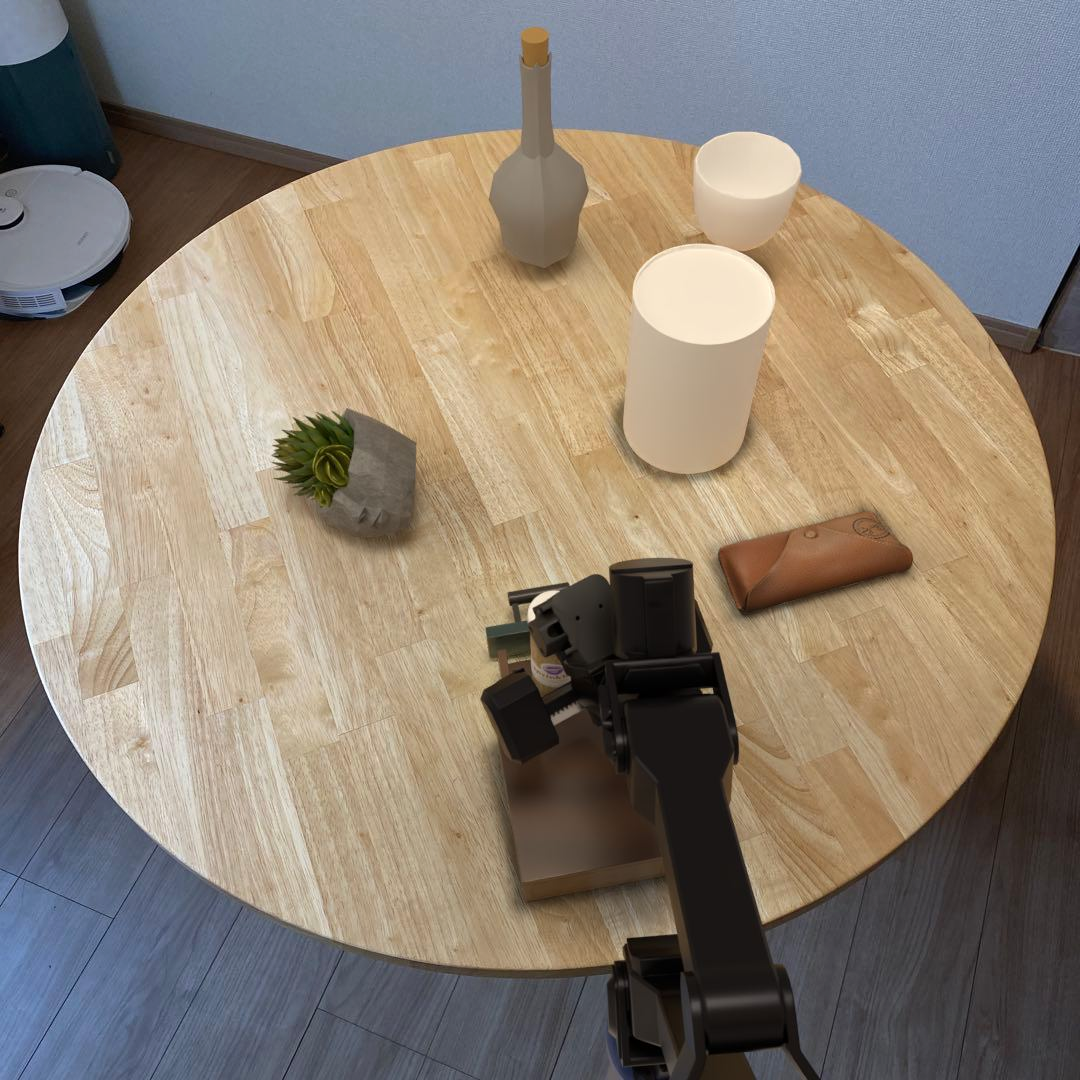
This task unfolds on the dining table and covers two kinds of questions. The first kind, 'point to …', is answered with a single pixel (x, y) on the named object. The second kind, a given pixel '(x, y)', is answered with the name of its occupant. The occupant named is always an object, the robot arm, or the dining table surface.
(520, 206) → the bottle
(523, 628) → the drawer
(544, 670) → the sprinkles bottle
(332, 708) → the dining table surface
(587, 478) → the dining table surface
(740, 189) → the cup
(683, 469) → the canister
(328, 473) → the potted plant
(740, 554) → the sunglasses case
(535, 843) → the cabinet
